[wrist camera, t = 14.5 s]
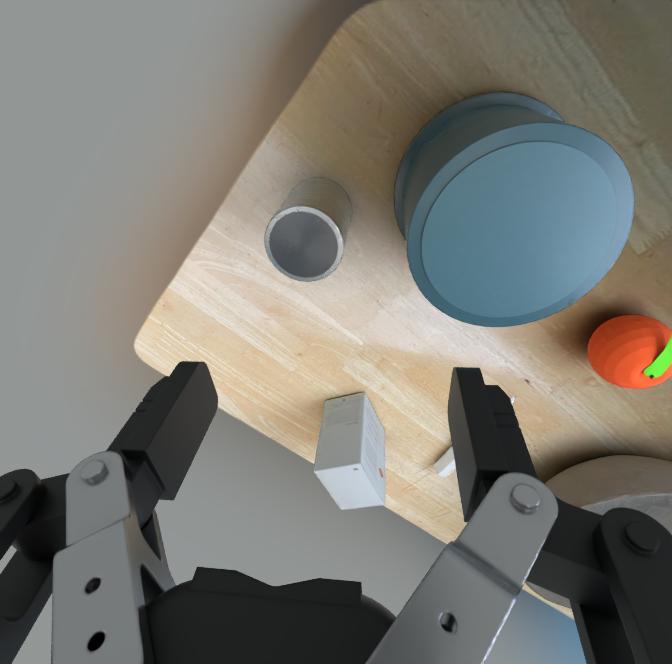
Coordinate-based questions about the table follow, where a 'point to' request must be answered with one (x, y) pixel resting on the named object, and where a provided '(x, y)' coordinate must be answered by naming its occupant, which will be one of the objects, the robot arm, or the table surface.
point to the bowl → (614, 492)
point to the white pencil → (448, 460)
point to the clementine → (632, 351)
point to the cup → (309, 230)
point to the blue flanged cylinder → (510, 210)
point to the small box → (351, 452)
